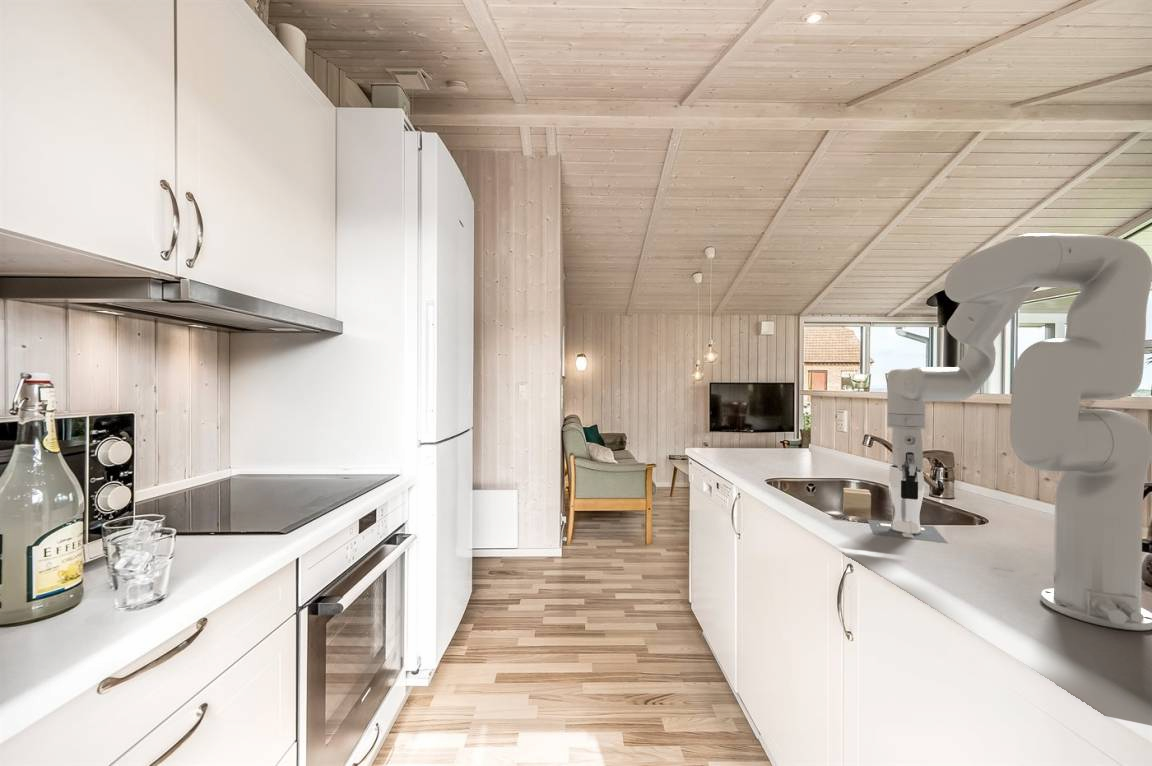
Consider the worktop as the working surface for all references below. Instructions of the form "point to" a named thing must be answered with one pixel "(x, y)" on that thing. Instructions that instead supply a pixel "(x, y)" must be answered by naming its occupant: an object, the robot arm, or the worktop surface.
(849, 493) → the oak block
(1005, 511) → the worktop surface
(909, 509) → the beer glass
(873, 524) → the letter mat
